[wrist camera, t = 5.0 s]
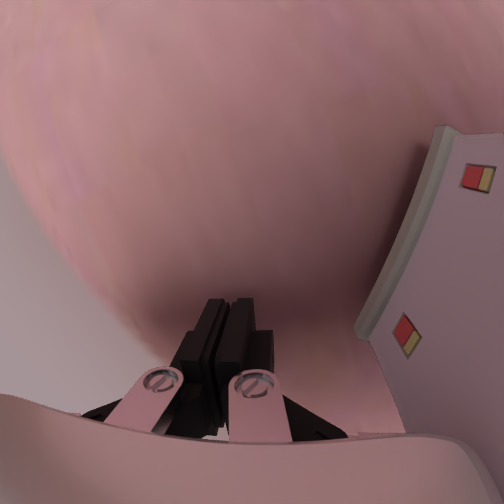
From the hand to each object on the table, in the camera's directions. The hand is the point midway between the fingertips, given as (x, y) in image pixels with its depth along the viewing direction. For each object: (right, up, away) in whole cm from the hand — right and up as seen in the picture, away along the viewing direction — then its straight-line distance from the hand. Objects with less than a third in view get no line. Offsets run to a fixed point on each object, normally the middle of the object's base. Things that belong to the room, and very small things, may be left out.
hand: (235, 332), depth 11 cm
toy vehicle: (+15, +1, 0) cm, 15 cm away
